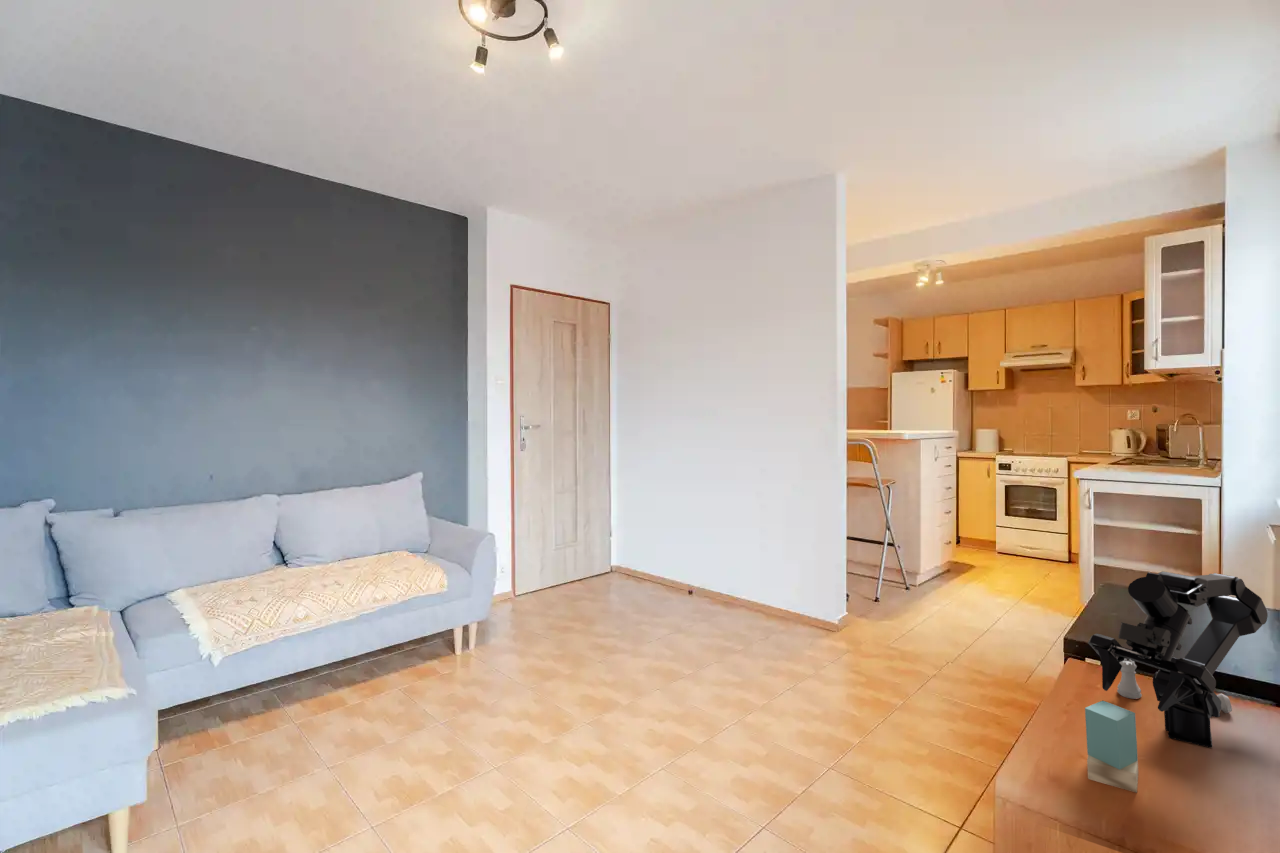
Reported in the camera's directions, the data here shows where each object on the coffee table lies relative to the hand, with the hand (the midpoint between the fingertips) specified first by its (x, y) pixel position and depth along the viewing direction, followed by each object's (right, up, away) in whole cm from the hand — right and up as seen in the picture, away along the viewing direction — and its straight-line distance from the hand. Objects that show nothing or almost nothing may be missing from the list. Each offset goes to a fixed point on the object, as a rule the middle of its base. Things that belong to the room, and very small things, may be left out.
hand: (1131, 699), depth 113 cm
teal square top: (-5, -10, -2) cm, 11 cm away
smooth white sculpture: (+30, -10, +16) cm, 36 cm away
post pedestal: (-5, -13, -2) cm, 14 cm away
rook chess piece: (+20, -11, +25) cm, 34 cm away
